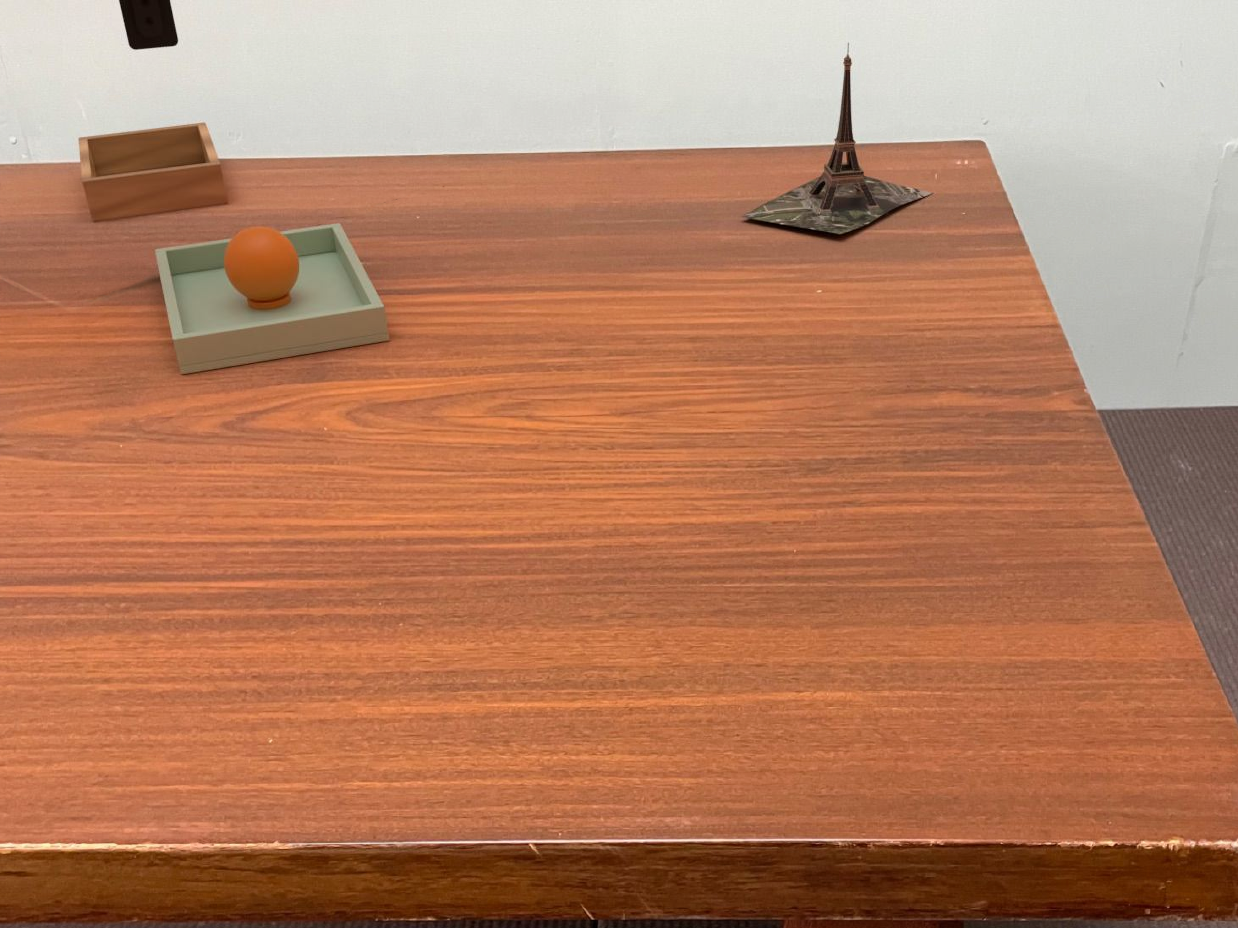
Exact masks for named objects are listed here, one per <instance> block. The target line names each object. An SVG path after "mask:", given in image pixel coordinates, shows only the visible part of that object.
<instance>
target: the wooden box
mask: <svg viewBox="0 0 1238 928" xmlns="http://www.w3.org/2000/svg"><path fill="white" fill-rule="evenodd" d="M77 139H78V150H79V161H80V173H81V174H80V175H81V183H82V186H83V190H84V194H85V198H86V201H87V205H88V208H89V212H90V217H91V221H92V223H99V222H106V221H115V220H121V219H122V220H123V219H129V218H137V217H143V216H151V215H158V214H159V215H160V214H165V213H172V212H173V213H174V212H181V211H186V210H187V211H188V210H195V209H201V208H203V209H204V208H210V207H217V206H224V205H229V198H228V193H227V187H226V184H225V178H224V174H223V169H222V164H221V162H220V159H219V156H218V154H217V151H216V148H215V145H214V143H213V140H212V137H211V134H210V131H209V129H208V126H207V123H206V122H196V123H189V124H179V125H172V126H171V125H170V126H164V127H155V128H148V129H138V130H131V131H123V132H122V131H121V132H114V133H106V134H105V133H104V134H97V135H89V136H81V137H78V138H77Z"/></svg>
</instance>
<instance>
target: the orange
mask: <svg viewBox="0 0 1238 928" xmlns="http://www.w3.org/2000/svg"><path fill="white" fill-rule="evenodd" d="M231 238H232V239H231ZM231 238H230V239H231V241H230V242H229V244H228V246H227V248H226V251H225V256H224V267H225V271H226V275H227V277H228V279H229V281H230V283H231V284H232V285H233V287H234V288H235V289H236V290H237V291H238V292H239V293H241V294H242V295H244V296H245V297H247V302H248V305H249V306H250V307H251V308H255V309H273V308H278V307H281V306H284V305H286V304H287V303H289V302H290V300H291V296H290V292H289V291H290V290H291V289H292V288H293V286H294V285H295V283H296V281H297V278H298V275H299V259H298V255H297V252H296V250H295V248H294V246H293V245H292V243H291V242H290V241H289V240H288V239H287V238H286V237H285V236H284V235H283V234H282V233H280V231H278V230H277V229H275V228H272V227H268V226H263V225H257V226H256V225H254V226H251V227H250V226H249V227H246V228H244V229H242V230H240V231H239V232H237V233H236V234H235V235H234V236H233V237H231Z"/></svg>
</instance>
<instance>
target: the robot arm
mask: <svg viewBox="0 0 1238 928" xmlns="http://www.w3.org/2000/svg"><path fill="white" fill-rule="evenodd" d="M118 2H119V7H120V11H121V16H122V20H123V25H124V29H125V33H126V39H127V42H128V46H129V48H131V49H132V50H134V51H137V50H148V49H159V48H170V47H176V46H177V45H178V44H179V37H178V32H177V27H176V23H175V17H174V14H173V13H174V12H173V8H172V2H171V0H118Z"/></svg>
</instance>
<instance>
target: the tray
mask: <svg viewBox="0 0 1238 928" xmlns="http://www.w3.org/2000/svg"><path fill="white" fill-rule="evenodd" d="M279 232H280V233H282V234H283V235H284V236H285V237H286V238H287V239H288V240H289V241H290V242H291V243H292V245H293V246H294V248H295V250H296V252H297V255H298V259H299V275H298V278H297V281H296V283H295V285H294V286H293V288H292V289H291V290H290V291H289V292H290V296H291V300H290V302H289V303H287V304H286V305H284V306H281V307H278V308H273V309H255V308H251V307H250V306H249V305H248V302H247V297H245V296H244V295H242V294H241V293H239V292H238V291H237V290H236V289H235V288H234V287H233V285H232V284H231V283H230V281H229V279H228V277H227V275H226V271H225V267H224V256H225V251H226V248H227V246H228V244H229V242H230V241H231V239H232V238H233V237H231V238H224V239H217V240H210V241H204V242H203V241H202V242H196V243H189V244H182V245H175V246H168V247H167V246H166V247H160V248H155V249H154V253H155V259H156V264H157V269H158V273H159V279H160V283H161V288H162V293H163V298H164V304H165V309H166V313H167V318H168V319H167V320H168V324H169V329H170V335H171V338H172V339H171V340H172V343H173V347H174V351H175V355H176V359H177V363H178V367H179V372H180V375H186V374H187V375H188V374H193V373H200V372H206V371H212V370H216V369H217V370H219V369H223V368H230V367H236V366H242V365H249V364H254V363H261V362H267V361H272V360H278V359H285V358H290V357H291V358H292V357H296V356H302V355H309V354H314V353H315V354H316V353H322V352H327V351H333V350H339V349H346V348H352V347H357V346H363V345H370V344H376V343H382V342H383V343H384V342H387V341H390V334H389V328H388V321H387V314H386V308H385V305H384V303H383V301H382V300H381V298H380V296H379V294H378V292H377V289H376V287H375V286H374V284H373V282H372V281H371V279H370V276H369V274H368V273H367V271H366V269H365V267H364V266H363V263H362V262H361V260H360V258H359V256H358V254H357V253H356V250H355V249H354V247H353V245H352V244H351V241H350V239H349V238H348V235H347V234H346V232H345V230H344V228H343V227H342V225H341V223H340V222H337V223H331V224H324V225H323V224H322V225H317V226H311V227H310V226H309V227H302V228H295V229H288V230H281V231H279Z"/></svg>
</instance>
